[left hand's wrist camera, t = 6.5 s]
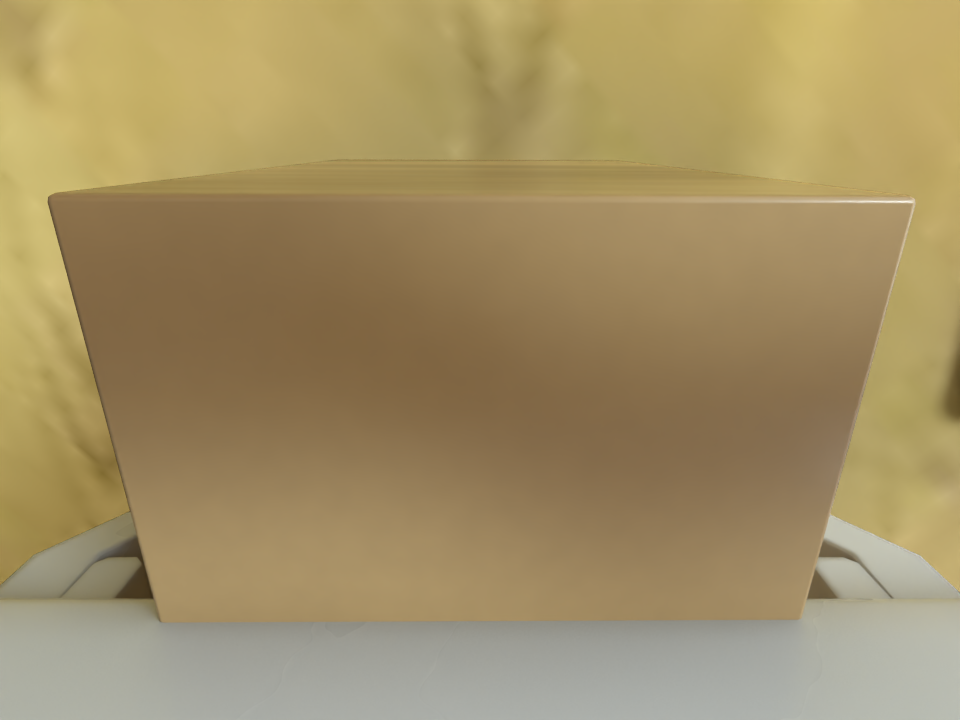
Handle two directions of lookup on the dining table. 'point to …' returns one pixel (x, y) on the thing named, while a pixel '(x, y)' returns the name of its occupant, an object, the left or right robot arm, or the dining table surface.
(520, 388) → the block
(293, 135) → the dining table surface
